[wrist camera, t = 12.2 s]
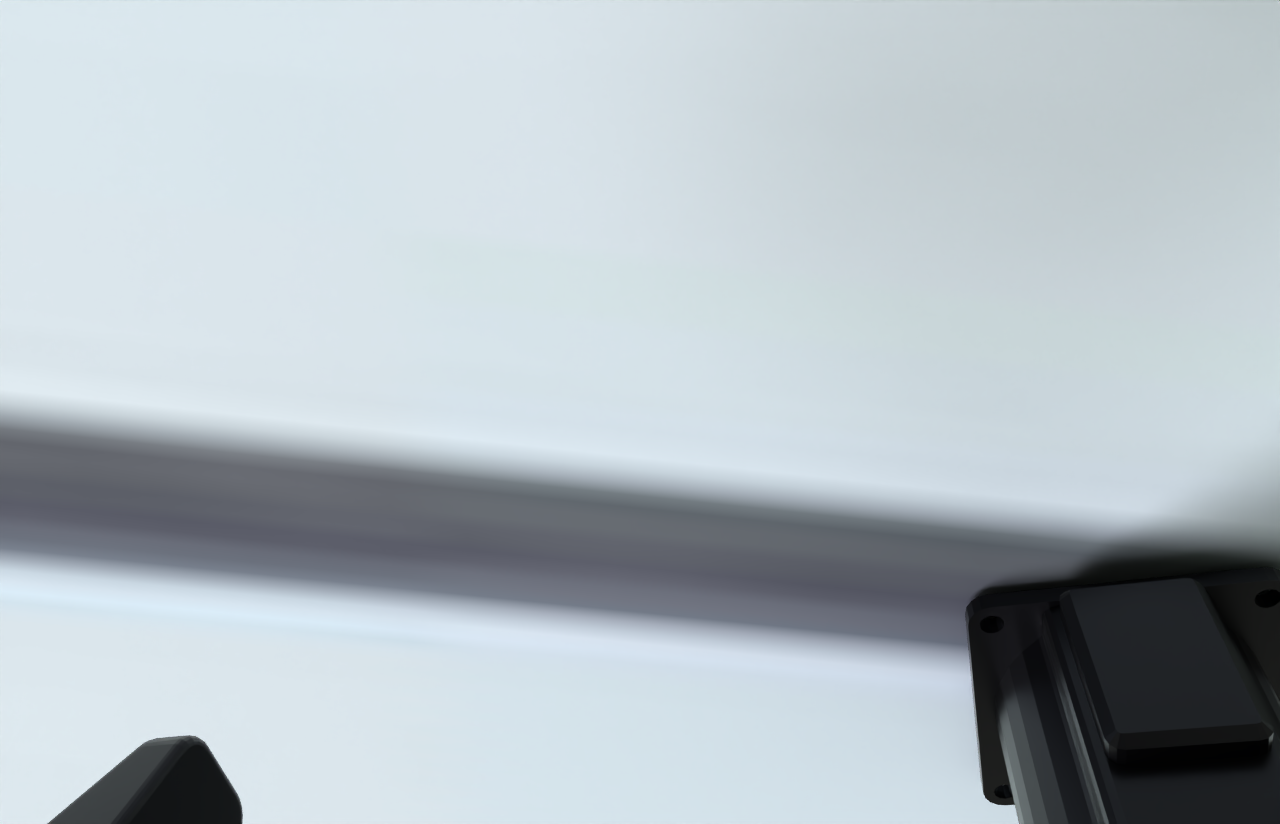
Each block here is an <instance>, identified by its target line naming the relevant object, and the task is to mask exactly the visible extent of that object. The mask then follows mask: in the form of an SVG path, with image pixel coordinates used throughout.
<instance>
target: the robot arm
mask: <svg viewBox="0 0 1280 824" xmlns="http://www.w3.org/2000/svg"><path fill="white" fill-rule="evenodd" d="M1267 589H1271V590H1270V591H1269V592H1267V593H1265V594H1261V595H1257V594H1259V593H1260V592H1261V591H1264V590H1267ZM988 616H998V617H997V618H996V619H993V620H990V621H989V620H983V619H984V618H985V617H988ZM965 617H966V627H967V638H968V648H969V659H970V670H971V680H972V691H973V701H974V712H975V723H976V733H977V744H978V754H979V765H980V776H981V783H982V788H983V793H984V795H985V798H986V799H987V800H989V801H990V802H992V803H994V804H997V805H1015V808H1016V812H1017V816H1018V821H1019V824H1280V571H1279V570H1277V569H1274V568H1266V567H1261V568H1251V569H1241V570H1231V571H1221V572H1211V573H1201V574H1191V575H1181V576H1171V577H1160V578H1150V579H1140V580H1130V581H1120V582H1110V583H1100V584H1090V585H1080V586H1070V587H1060V588H1050V589H1040V590H1030V591H1020V592H1010V593H1000V594H990V595H984V596H980V597H977V598H976V599H974V600H973V601H971V602H970V603H969V605H968V606H967V607H966V613H965ZM242 818H243V814H242V806H241V802H240V798H239V796H238V794H237V793H236V791H235V789H234V788H233V786H232V784H231V783H230V781H229V780H228V778H227V776H226V775H225V773H224V772H223V770H222V768H221V767H220V765H219V764H218V762H217V760H216V759H215V757H214V755H213V754H212V752H211V751H210V749H209V747H208V746H207V745H206V743H205V742H204V741H203V740H201V739H199V738H198V737H196V736H190V735H189V736H177V737H166V738H156V739H153V740H149V741H147V742H145V743H144V744H142V745H141V746H140V747H138V748H137V749H136V750H135V751H133V752H132V753H131V754H130V755H129V756H128V757H126V758H125V759H124V760H123V761H122V762H120V763H119V764H118V765H117V766H116V767H114V768H113V769H112V770H111V771H110V772H108V773H107V774H106V775H105V776H104V777H103V778H101V779H100V780H99V781H98V782H97V783H95V784H94V785H93V786H92V787H91V788H89V789H88V790H87V791H86V792H85V793H83V794H82V795H81V796H80V797H79V798H77V799H76V800H75V801H74V802H73V803H72V804H70V805H69V806H68V807H67V808H66V809H64V810H63V811H62V812H61V813H60V814H58V815H57V816H56V817H55V818H54V819H52V820H51V821H50V822H49V823H48V824H242Z"/></svg>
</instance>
